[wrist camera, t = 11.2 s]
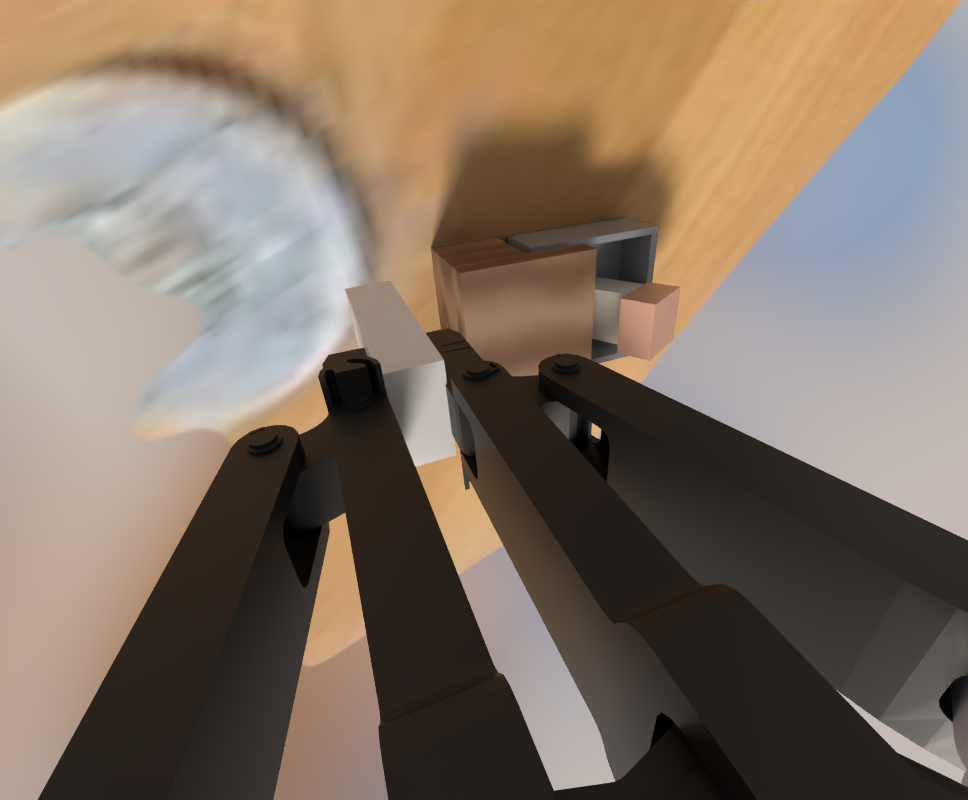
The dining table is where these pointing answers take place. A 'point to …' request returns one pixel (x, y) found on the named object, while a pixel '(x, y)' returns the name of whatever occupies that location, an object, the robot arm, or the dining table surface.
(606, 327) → the cream tile
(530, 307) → the plate
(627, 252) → the bin
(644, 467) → the robot arm
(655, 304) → the salmon pink square block
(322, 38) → the dining table surface
